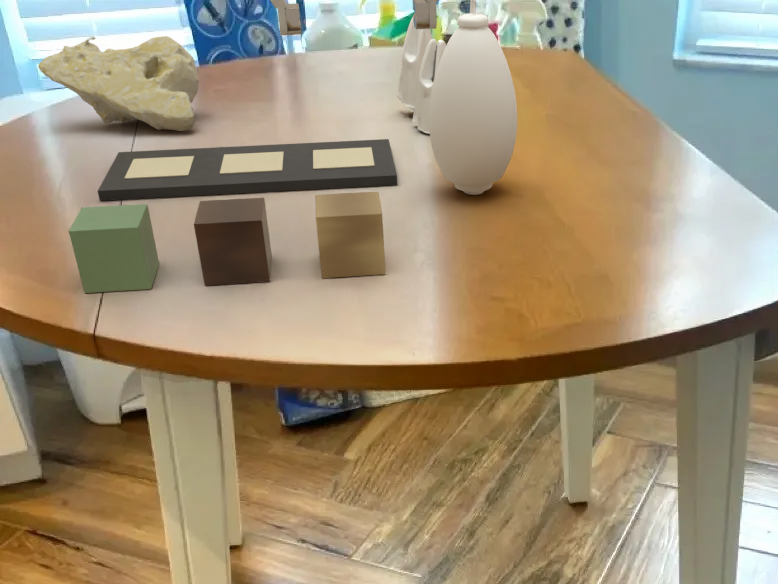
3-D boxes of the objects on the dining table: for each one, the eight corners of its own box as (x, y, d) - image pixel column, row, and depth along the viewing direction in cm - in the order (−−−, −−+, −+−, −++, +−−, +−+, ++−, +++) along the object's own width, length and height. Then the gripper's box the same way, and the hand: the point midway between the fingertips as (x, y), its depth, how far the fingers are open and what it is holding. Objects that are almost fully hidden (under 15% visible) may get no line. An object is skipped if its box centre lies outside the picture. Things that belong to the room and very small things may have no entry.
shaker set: (396, 111, 114) (391, 10, 108) (430, 108, 116) (427, 7, 109) (424, 139, 105) (420, 30, 99) (460, 135, 106) (459, 27, 100)
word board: (99, 201, 90) (97, 189, 89) (120, 161, 100) (118, 151, 99) (397, 185, 93) (397, 173, 92) (389, 148, 102) (388, 137, 102)
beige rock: (233, 134, 114) (164, 36, 116) (228, 99, 107) (154, -5, 109) (119, 195, 111) (49, 94, 112) (106, 163, 104) (31, 55, 105)
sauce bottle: (530, 187, 92) (536, -22, 82) (485, 211, 86) (486, -8, 76) (462, 173, 95) (460, -28, 85) (416, 195, 90) (407, -16, 80)
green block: (84, 293, 73) (68, 230, 70) (96, 267, 77) (81, 207, 74) (151, 289, 74) (138, 226, 71) (159, 263, 78) (147, 203, 75)
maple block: (321, 278, 75) (315, 216, 72) (321, 253, 79) (315, 194, 76) (385, 274, 75) (382, 213, 72) (381, 250, 79) (378, 191, 77)
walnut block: (204, 286, 74) (193, 223, 71) (210, 260, 78) (199, 200, 75) (270, 282, 74) (261, 219, 72) (272, 256, 78) (264, 197, 76)
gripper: (496, -211, 63) (495, 16, 71) (180, -207, 61) (215, 28, 69) (516, -212, 58) (512, 32, 66) (172, -207, 56) (210, 46, 64)
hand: (358, 30), depth 67 cm, fingers open, 8 cm apart
